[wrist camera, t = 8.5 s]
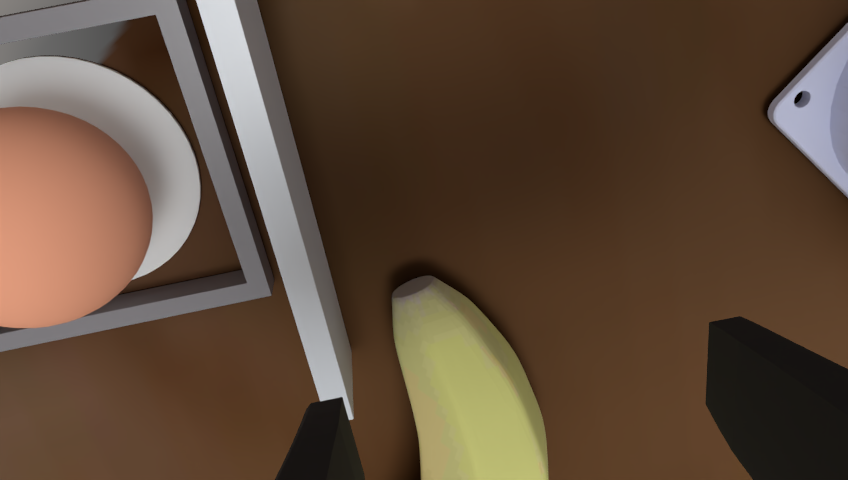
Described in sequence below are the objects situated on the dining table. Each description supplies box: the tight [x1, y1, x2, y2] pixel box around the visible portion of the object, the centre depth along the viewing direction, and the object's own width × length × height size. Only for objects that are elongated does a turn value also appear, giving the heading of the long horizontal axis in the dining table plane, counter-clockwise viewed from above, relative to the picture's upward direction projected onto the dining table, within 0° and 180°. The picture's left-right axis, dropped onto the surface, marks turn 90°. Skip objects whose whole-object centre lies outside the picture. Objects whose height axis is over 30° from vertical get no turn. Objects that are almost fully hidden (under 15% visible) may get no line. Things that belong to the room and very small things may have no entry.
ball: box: [0, 106, 153, 328], centre depth 16 cm, size 6×6×6 cm
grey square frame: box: [0, 0, 274, 352], centre depth 19 cm, size 9×9×1 cm
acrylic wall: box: [196, 0, 354, 420], centre depth 18 cm, size 16×1×4 cm, turn 10°
